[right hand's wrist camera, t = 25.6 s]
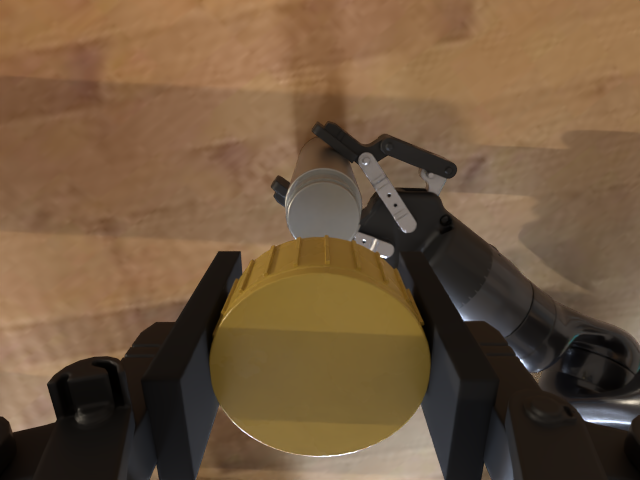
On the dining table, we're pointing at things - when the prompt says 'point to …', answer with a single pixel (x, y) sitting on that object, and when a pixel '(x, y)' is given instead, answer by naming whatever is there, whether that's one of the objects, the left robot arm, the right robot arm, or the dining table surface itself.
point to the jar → (323, 194)
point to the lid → (319, 349)
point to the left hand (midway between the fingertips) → (294, 155)
